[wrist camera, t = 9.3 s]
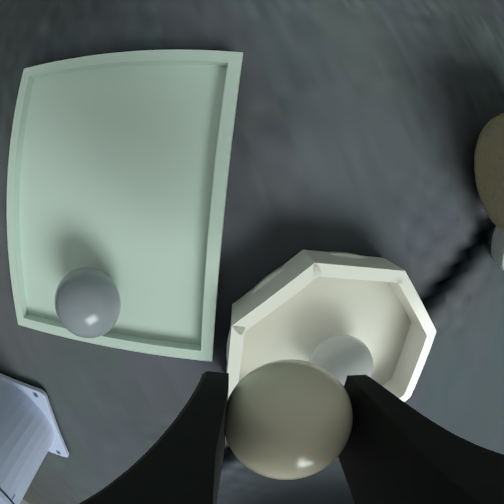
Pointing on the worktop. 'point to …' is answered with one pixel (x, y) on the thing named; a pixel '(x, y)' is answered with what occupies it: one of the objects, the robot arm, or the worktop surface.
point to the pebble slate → (87, 302)
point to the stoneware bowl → (332, 317)
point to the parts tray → (124, 191)
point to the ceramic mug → (492, 180)
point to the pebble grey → (343, 357)
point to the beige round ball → (288, 419)
